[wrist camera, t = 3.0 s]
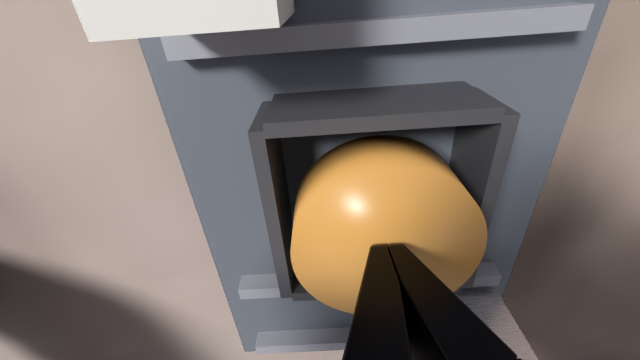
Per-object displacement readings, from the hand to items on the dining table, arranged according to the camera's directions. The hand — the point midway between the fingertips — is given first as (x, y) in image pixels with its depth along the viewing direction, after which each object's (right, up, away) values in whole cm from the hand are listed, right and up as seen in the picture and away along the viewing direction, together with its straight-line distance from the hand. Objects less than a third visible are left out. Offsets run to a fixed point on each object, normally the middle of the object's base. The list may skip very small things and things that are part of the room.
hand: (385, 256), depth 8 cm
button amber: (0, +1, +2) cm, 2 cm away
